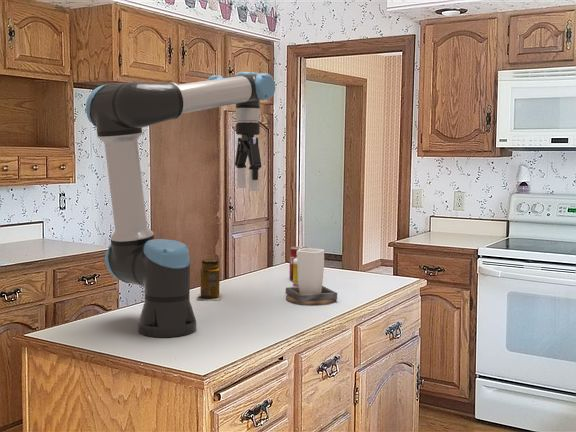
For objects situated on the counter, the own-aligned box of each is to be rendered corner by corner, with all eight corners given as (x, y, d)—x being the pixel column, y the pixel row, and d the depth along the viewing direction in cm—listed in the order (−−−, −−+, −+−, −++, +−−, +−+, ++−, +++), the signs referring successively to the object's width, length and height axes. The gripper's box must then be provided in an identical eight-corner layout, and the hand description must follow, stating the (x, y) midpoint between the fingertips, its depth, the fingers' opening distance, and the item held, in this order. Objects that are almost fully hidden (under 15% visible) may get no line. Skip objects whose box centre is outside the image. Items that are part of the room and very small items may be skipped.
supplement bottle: (309, 290, 230) (310, 253, 229) (290, 289, 232) (291, 252, 230) (314, 286, 236) (314, 250, 235) (295, 285, 238) (296, 249, 237)
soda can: (309, 282, 244) (310, 249, 243) (289, 282, 244) (289, 249, 243) (309, 278, 251) (309, 246, 250) (289, 278, 251) (289, 246, 250)
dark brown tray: (297, 307, 206) (297, 297, 206) (278, 295, 221) (279, 286, 221) (344, 303, 212) (344, 293, 212) (323, 292, 227) (324, 283, 227)
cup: (304, 292, 222) (305, 247, 220) (325, 295, 219) (326, 249, 217) (294, 297, 216) (295, 250, 214) (315, 299, 212) (316, 252, 211)
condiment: (221, 294, 222) (221, 258, 221) (219, 300, 214) (219, 263, 213) (199, 294, 222) (199, 258, 221) (196, 300, 214) (196, 262, 213)
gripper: (272, 121, 205) (271, 191, 207) (247, 123, 228) (246, 186, 230) (248, 120, 202) (248, 192, 204) (225, 123, 225) (225, 187, 227)
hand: (247, 189), depth 217 cm, fingers open, 13 cm apart
